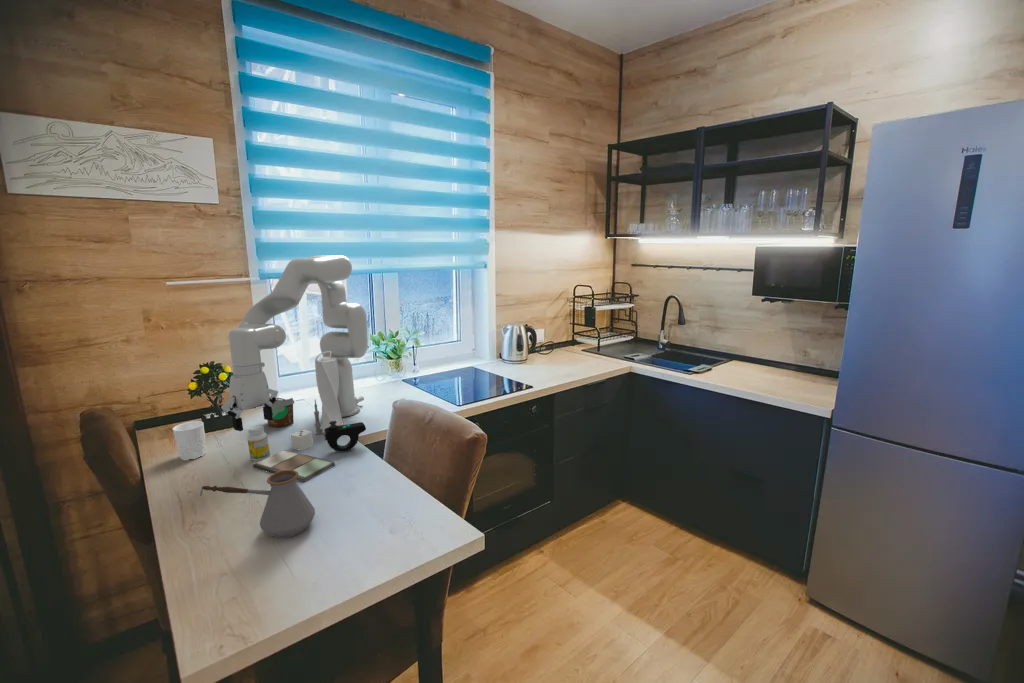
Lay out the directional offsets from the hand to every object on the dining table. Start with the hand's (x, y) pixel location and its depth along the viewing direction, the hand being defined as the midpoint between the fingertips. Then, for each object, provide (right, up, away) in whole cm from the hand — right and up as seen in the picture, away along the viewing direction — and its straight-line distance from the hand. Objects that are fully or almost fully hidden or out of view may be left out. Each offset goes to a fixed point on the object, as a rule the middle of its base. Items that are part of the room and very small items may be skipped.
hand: (254, 424), depth 142 cm
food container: (-7, -5, +28) cm, 30 cm away
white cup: (-22, -11, +5) cm, 24 cm away
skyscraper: (+15, -6, +23) cm, 28 cm away
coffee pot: (+22, -19, -36) cm, 47 cm away
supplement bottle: (0, -11, +3) cm, 11 cm away
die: (+10, -9, +10) cm, 17 cm away
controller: (+26, -9, +7) cm, 28 cm away
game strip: (+14, -12, -4) cm, 18 cm away
